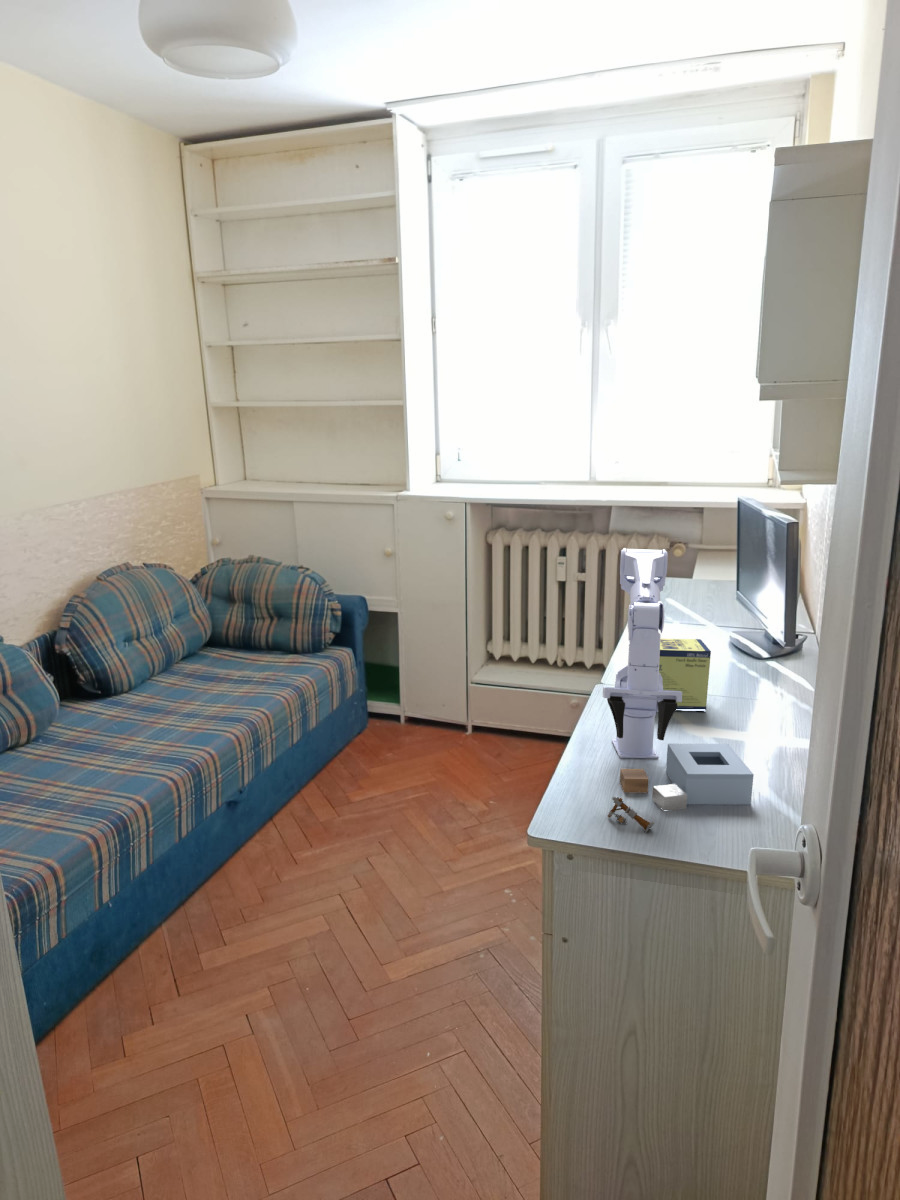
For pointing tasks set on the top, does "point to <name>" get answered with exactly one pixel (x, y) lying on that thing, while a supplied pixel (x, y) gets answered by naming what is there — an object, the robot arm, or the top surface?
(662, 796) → the white square block
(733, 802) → the grey box with hole
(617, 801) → the wooden post with brackets
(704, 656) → the protein box
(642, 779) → the brown wooden block
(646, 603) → the robot arm
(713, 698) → the top surface
